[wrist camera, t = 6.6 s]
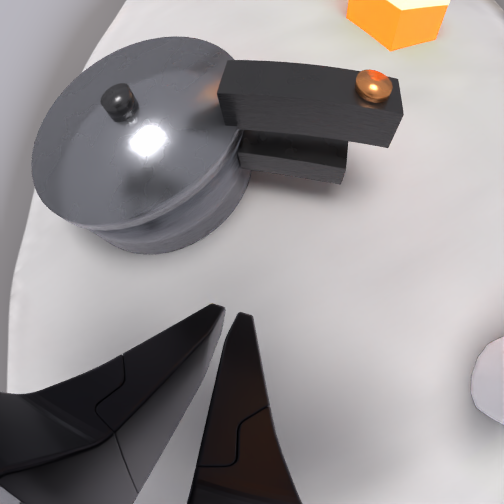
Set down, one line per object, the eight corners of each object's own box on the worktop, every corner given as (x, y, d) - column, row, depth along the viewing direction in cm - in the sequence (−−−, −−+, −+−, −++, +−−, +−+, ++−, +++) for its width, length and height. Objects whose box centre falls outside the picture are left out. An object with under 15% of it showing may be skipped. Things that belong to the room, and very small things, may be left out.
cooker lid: (383, 267, 15) (417, 240, 11) (14, 220, 18) (-27, 195, 14) (374, 58, 19) (385, 11, 15) (90, 59, 22) (69, 26, 18)
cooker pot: (321, 289, 21) (335, 270, 16) (42, 232, 25) (-1, 208, 19) (342, 114, 25) (353, 65, 19) (99, 100, 28) (74, 64, 23)
